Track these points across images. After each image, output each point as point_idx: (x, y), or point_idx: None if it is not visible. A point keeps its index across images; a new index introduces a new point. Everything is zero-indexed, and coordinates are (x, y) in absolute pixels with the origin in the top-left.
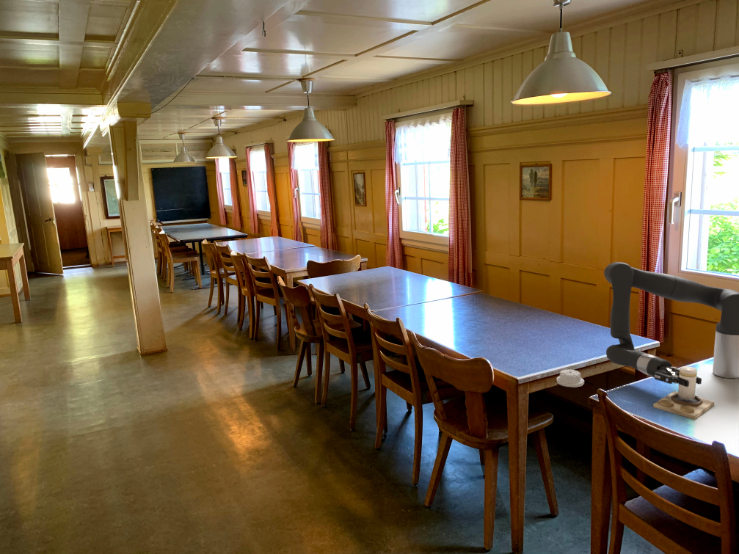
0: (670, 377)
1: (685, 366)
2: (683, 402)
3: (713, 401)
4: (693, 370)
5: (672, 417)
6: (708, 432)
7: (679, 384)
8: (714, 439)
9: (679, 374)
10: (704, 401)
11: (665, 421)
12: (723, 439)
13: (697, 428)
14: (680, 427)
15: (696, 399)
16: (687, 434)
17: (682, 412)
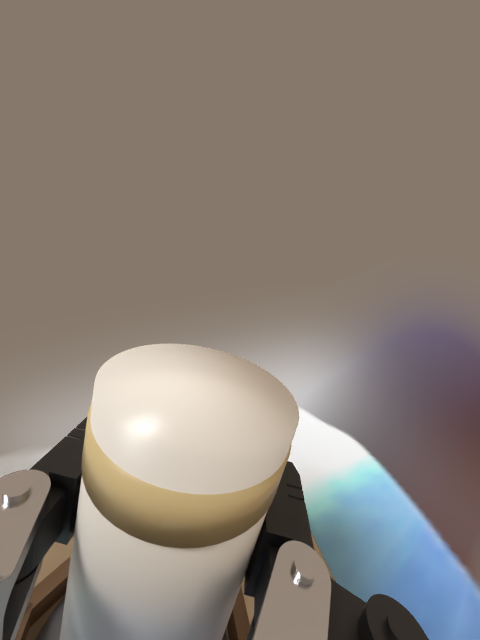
0: (407, 615)
1: (116, 421)
2: (239, 601)
3: None
4: (202, 356)
5: (375, 587)
6: (311, 442)
7: (231, 608)
8: (323, 424)
9: (243, 538)
10: (53, 549)
11: (432, 580)
12: (302, 414)
13: (326, 468)
14: (383, 505)
15: (41, 614)
16: (381, 470)
17: (318, 548)
